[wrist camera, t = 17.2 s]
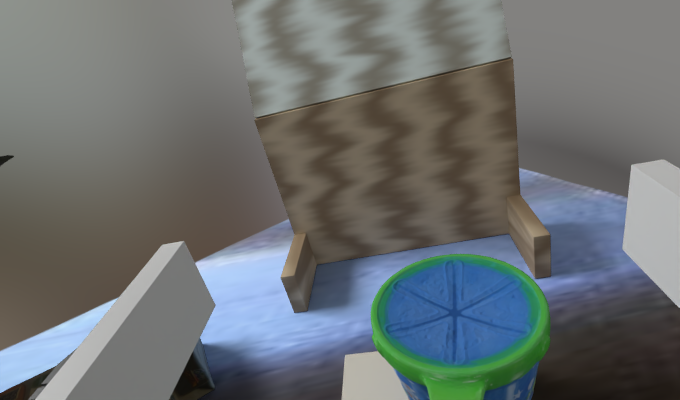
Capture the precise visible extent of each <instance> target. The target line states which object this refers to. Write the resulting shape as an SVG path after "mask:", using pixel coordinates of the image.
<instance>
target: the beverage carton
mask: <svg viewBox="0 0 680 400" xmlns="http://www.w3.org/2000/svg"><path fill="white" fill-rule="evenodd" d="M55 367H56V366H55ZM55 367H53V368H51V369H49V370H47V371H45V372H43V373H41V374H39V375H37V376H35V377H33V378H30V379H28V380H26V381H24V382H22V383H20V384H18V385H16V386H13V387H11V388H9V389H8V390H6V391H4V392H2V393H0V400H28V399H29V398H30V397H31V396H32V394H33V393H34V392H35V391H36V390H37V389H38V388H41V386H42V385H41V384H42V383H43V381H44V380H45V379H46V378H47V377H48V375H49V374H50V373H51V372H52V371H53V369H54V368H55ZM214 389H215V385H214V383H213V380H212V377H211V374H210V371H209V367H208V363H207V359H206V355H205V352H204V347H203V344H202V342H201V339H200V338H199V340H198V342H197V344H196V346H195V348H194V350H193V352H192V354H191V356H190V358H189V360H188V362H187V364H186V366H185V368H184V370H183V372H182V374H181V376H180V378H179V380H178V382H177V384H176V386H175V388H174V390H173V392H172V394H171V396H170V399H169V400H197V399H199V398H200V397H202V396H204V395H205V394H207V393H209V392H211V391H212V390H214Z"/></svg>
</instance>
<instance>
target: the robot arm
mask: <svg viewBox="0 0 680 400" xmlns="http://www.w3.org/2000/svg"><path fill="white" fill-rule="evenodd" d="M622 249H623V250H624V251H625V252H626V253H627V255H628V256H629V257H630V258H631V259H632V260H633V261H634V262H635V263H636V264H637V265H638V266H639V267H640V268H641V269H642V270H643V271H644V272H645V273H646V274H647V275H648V276H649V277H650V278H651V279H652V280H653V281H654V282H655V283H656V284H657V285H658V286H659V287H660V288H661V289H662V290H663V291H664V292H665V293H666V295H667V296H668V297H669V298H670V299H671V300H672V301H673V302H674V303H675V304H676V305H677V306H678V307H679V308H680V169H679V168H678V167H676V166H674V165H672V164H671V163H669V162H667V161H665V160H657V161H652V162H645V163H640V164H634V165H631V175H630V184H629V193H628V202H627V211H626V221H625V230H624V239H623V248H622ZM215 306H216V305H215V303H214V301H213V299H212V297H211V295H210V293H209V291H208V289H207V287H206V285H205V283H204V281H203V279H202V277H201V275H200V273H199V271H198V269H197V267H196V265H195V263H194V261H193V258H192V256H191V254H190V253H189V250H188V248H187V247H186V244H185V242H184V241H181V242H175V243H169V244H164V245H162V246H161V247H160V248H159V250H158V251H157V252H156V253H155V255H154V256H153V257H152V258H151V259H150V261H149V262H148V263H147V264H146V266H145V267H144V268H143V269H142V270H141V272H140V273H139V274H138V275H137V277H136V278H135V279H134V280H133V281H132V282H131V284H130V285H129V286H128V287H127V289H126V290H125V291H124V292H123V293H122V295H121V296H120V297H119V298H118V299H117V301H116V302H115V303H114V304H113V306H112V307H111V308H110V309H109V310H108V312H107V313H106V314H105V315H104V316H103V318H102V319H101V320H100V321H99V323H98V324H97V325H96V326H95V327H94V329H93V330H92V331H91V332H90V333H89V335H88V336H87V337H86V338H85V340H84V341H83V342H82V343H81V344H80V346H79V347H78V348H77V349H76V350H74V351H73V352H72V353H71V354H70V355H68V356H67V357H66V358H65V359H64V360H63V361H61V362H60V363H59V364H58V365H57V366H56V367H55V368H54V369H53V371H52V372H51V373H50V374H49V375H48V377H47V378H46V379H45V380H44V381H43V383H42V384H41V385H42V386H41V388H38V389H37V390H36V391H35V392H34V393H33V394H32V396H31V397H30V398H29V399H28V400H169V399H170V396H171V394H172V392H173V390H174V388H175V386H176V384H177V382H178V380H179V378H180V376H181V374H182V372H183V370H184V368H185V366H186V364H187V362H188V360H189V358H190V356H191V354H192V352H193V350H194V348H195V346H196V344H197V342H198V340H199V338H200V336H201V334H202V332H203V330H204V328H205V326H206V324H207V322H208V320H209V318H210V316H211V314H212V312H213V310H214V308H215Z"/></svg>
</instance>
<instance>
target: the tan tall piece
mask: <svg viewBox="0 0 680 400" xmlns="http://www.w3.org/2000/svg"><path fill="white" fill-rule="evenodd" d="M232 4H233V9H234V14H235V19H236V24H237V30H238V34H239V39H240V45H241V50H242V55H243V60H244V65H245V70H246V75H247V80H248V86H249V91H250V96H251V101H252V106H253V111H254V116H255V118H256V119H255V123H256V126H257V129H258V132H259V135H260V137H261V140H262V143H263V146H264V149H265V151H266V155H267V157H268V160H269V163H270V166H271V169H272V171H273V174H274V177H275V180H276V183H277V186H278V189H279V192H280V194H281V197H282V200H283V203H284V206H285V209H286V212H287V214H288V217H289V220H290V223H291V226H292V229H293V231H294V234H295V235H294V238H293V241H292V244H291V247H290V251H289V254H288V257H287V260H286V263H285V266H284V269H283V272H282V275H281V280H282V282H283V285H284V287H285V290H286V292H287V295H288V298H289V300H290V303H291V305H292V308H293V310H294V313H296V312H303V311H307V310H308V305H309V300H310V295H311V290H312V286H313V281H314V276H315V271H316V266H317V265H318V264H325V263H331V262H337V261H343V260H349V259H355V258H361V257H368V256H374V255H380V254H386V253H392V252H398V251H404V250H411V249H417V248H423V247H429V246H435V245H441V244H447V243H454V242H460V241H466V240H472V239H478V238H484V237H490V236H497V235H503V234H510V236H511V238H512V240H513V241H514V243H515V245H516V246H517V248H518V250H519V252H520V253H521V255H522V257H523V258H524V260H525V262H526V264H527V265H528V267H529V269H530V271H531V272H532V274H533V276H534V277H535V279H536V278H543V277H550V276H551V246H550V234H549V232H548V231H547V230H546V228H545V227H544V226H543V224H542V223H541V222H540V220H539V219H538V218H537V216H536V215H535V214H534V212H533V211H532V210H531V208H530V207H529V206H528V204H527V203H526V202H525V200H524V199H523V198H522V196H521V195H520V181H519V165H518V145H517V126H516V106H515V88H514V69H513V59H512V58H511V57H512V55H511V50H510V45H509V39H508V34H507V28H506V23H505V18H504V12H503V8H502V2H501V0H232Z"/></svg>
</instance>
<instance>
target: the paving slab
mask: <svg viewBox="0 0 680 400" xmlns="http://www.w3.org/2000/svg"><path fill="white" fill-rule="evenodd" d="M342 400H409V399H408V396H407V394H406V393H405V391H404V389H403V386H402V384H401V382H400V380H399V378H398V376H397V375H396V373H395V371H394V368H393V367H392V366H391V365H390V364H389V363H388V362H387V361H386V360H385V358H384V357H382V356H381V354H380V353H379V352H378V351H376V352H368V353H359V354H351V355H345V364H344V377H343V390H342Z"/></svg>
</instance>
